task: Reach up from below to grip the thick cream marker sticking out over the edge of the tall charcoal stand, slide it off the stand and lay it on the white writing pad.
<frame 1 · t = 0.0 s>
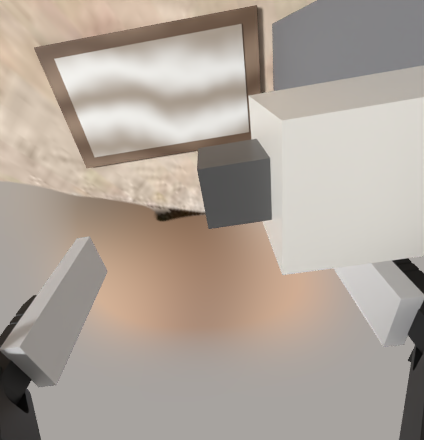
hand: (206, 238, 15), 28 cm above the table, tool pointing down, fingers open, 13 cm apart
writing pad: (160, 97, 36), on the table
stand: (317, 70, 35), on the table
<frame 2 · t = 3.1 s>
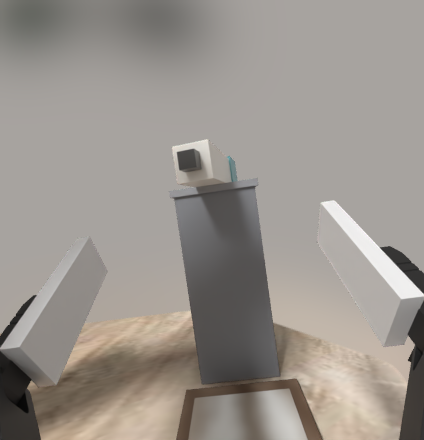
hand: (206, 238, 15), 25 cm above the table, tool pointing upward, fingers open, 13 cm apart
stand: (238, 357, 45), on the table
marker: (214, 185, 39), point 30 cm above the table, touching stand
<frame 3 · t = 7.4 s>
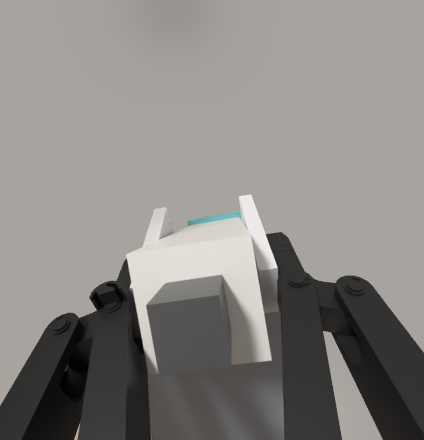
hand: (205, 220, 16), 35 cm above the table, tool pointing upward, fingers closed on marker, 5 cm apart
marker: (220, 282, 19), point 30 cm above the table, touching gripper, stand
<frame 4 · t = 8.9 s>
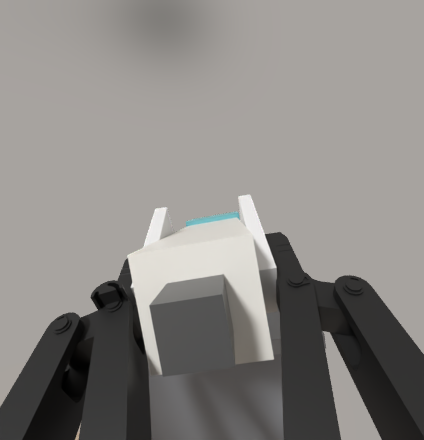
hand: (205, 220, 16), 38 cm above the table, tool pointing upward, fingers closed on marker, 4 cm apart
marker: (219, 282, 19), point 33 cm above the table, touching gripper
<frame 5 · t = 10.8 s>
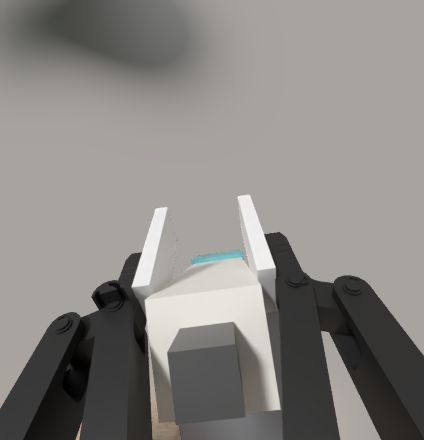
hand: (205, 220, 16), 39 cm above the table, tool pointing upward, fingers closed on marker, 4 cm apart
marker: (223, 323, 19), point 31 cm above the table, tilted 6°, touching gripper
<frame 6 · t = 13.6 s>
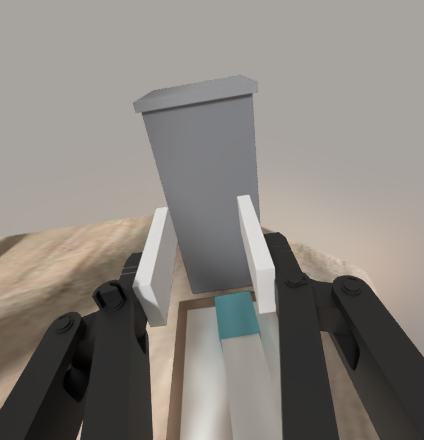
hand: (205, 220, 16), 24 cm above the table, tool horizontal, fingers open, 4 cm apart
writing pad: (240, 396, 29), on the table
stand: (225, 264, 47), on the table
marker: (249, 392, 28), point 1 cm above the table, touching writing pad
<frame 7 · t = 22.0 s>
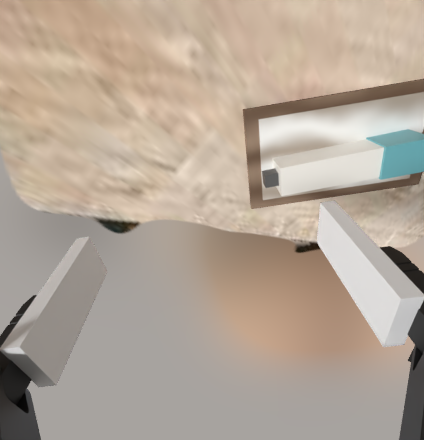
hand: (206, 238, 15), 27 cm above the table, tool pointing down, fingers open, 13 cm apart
writing pad: (336, 149, 39), on the table
marker: (337, 158, 39), point 1 cm above the table, touching writing pad
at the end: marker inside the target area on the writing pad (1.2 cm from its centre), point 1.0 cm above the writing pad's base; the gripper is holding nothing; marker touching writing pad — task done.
